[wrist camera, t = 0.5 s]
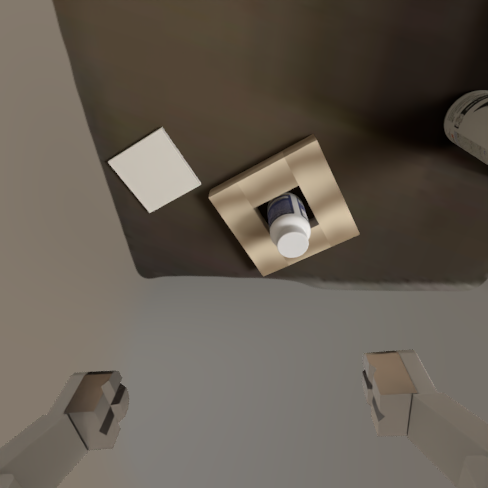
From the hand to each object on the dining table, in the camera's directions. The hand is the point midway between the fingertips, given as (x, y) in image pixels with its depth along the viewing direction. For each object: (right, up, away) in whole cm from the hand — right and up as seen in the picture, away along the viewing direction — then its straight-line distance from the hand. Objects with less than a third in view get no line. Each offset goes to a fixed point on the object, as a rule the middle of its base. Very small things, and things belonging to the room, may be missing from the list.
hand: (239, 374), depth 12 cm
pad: (-12, +14, +36) cm, 41 cm away
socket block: (+6, +10, +40) cm, 41 cm away
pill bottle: (+6, +10, +40) cm, 41 cm away
